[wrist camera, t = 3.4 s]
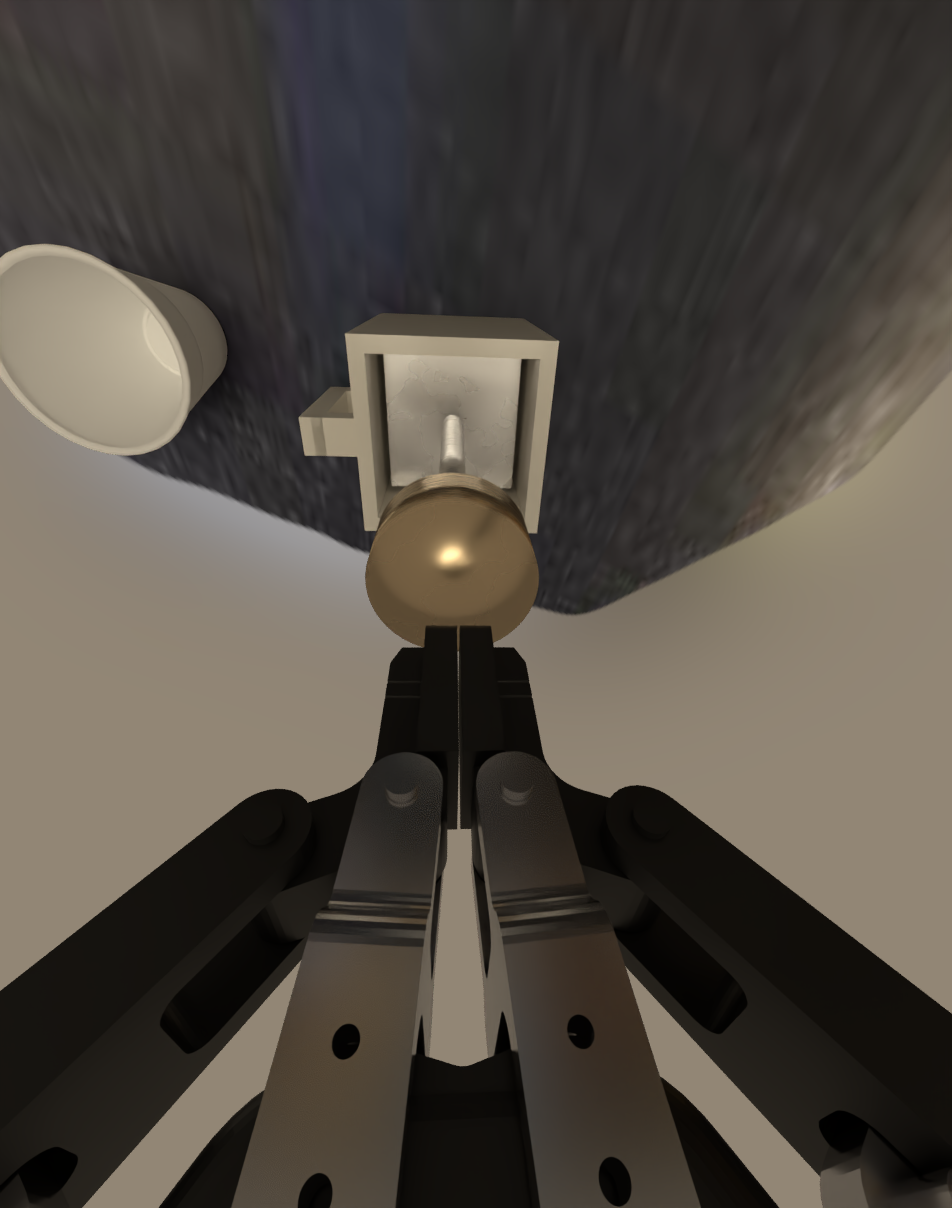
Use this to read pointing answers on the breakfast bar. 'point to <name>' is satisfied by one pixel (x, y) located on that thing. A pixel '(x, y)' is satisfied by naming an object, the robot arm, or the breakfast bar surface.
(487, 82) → the breakfast bar surface
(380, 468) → the press jug
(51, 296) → the cup
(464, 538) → the plunger
